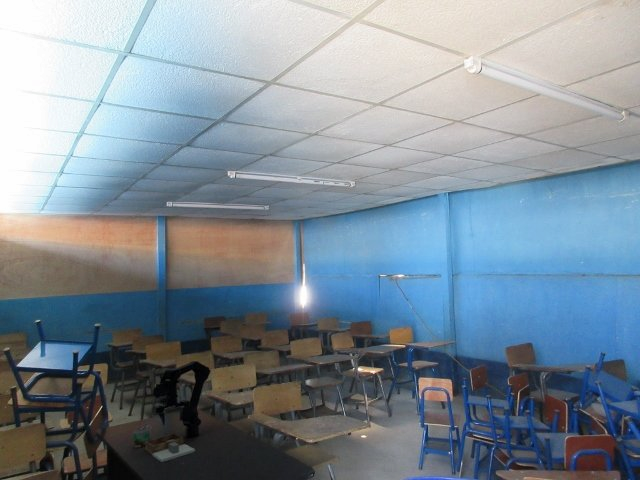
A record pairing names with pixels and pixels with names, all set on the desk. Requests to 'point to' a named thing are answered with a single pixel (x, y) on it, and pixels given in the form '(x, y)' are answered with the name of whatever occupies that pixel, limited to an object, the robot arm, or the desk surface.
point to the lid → (173, 452)
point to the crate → (162, 443)
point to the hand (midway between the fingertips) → (172, 422)
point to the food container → (142, 435)
